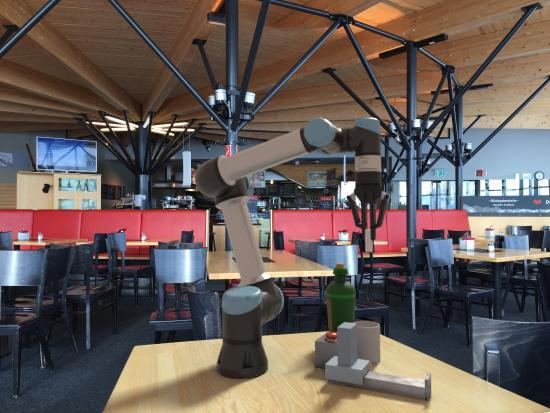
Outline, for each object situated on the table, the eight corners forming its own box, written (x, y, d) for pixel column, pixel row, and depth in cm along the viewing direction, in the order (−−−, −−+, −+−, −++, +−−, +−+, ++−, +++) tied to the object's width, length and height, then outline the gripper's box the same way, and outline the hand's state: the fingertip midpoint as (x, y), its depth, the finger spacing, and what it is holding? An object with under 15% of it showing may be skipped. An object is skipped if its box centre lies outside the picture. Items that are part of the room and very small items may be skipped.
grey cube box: (315, 368, 127) (314, 340, 127) (324, 359, 134) (324, 334, 134) (341, 372, 123) (340, 344, 123) (349, 363, 130) (349, 337, 130)
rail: (327, 382, 116) (327, 363, 116) (333, 376, 120) (333, 358, 121) (428, 400, 104) (428, 379, 104) (431, 392, 108) (430, 373, 109)
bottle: (340, 337, 159) (339, 261, 159) (363, 343, 150) (361, 263, 151) (319, 342, 152) (318, 263, 152) (342, 349, 144) (341, 266, 144)
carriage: (325, 378, 115) (324, 326, 115) (335, 368, 122) (334, 320, 122) (361, 385, 110) (361, 331, 110) (370, 374, 117) (369, 323, 117)
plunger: (323, 364, 128) (323, 334, 128) (328, 360, 131) (328, 330, 131) (336, 366, 126) (336, 335, 126) (341, 362, 129) (340, 332, 130)
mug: (380, 364, 129) (380, 328, 129) (352, 363, 131) (351, 326, 131) (379, 352, 141) (379, 318, 141) (353, 350, 143) (352, 317, 143)
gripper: (342, 171, 126) (343, 251, 126) (387, 169, 120) (388, 253, 120) (350, 173, 133) (351, 250, 132) (393, 171, 127) (394, 251, 126)
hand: (369, 251), depth 126 cm, fingers closed
